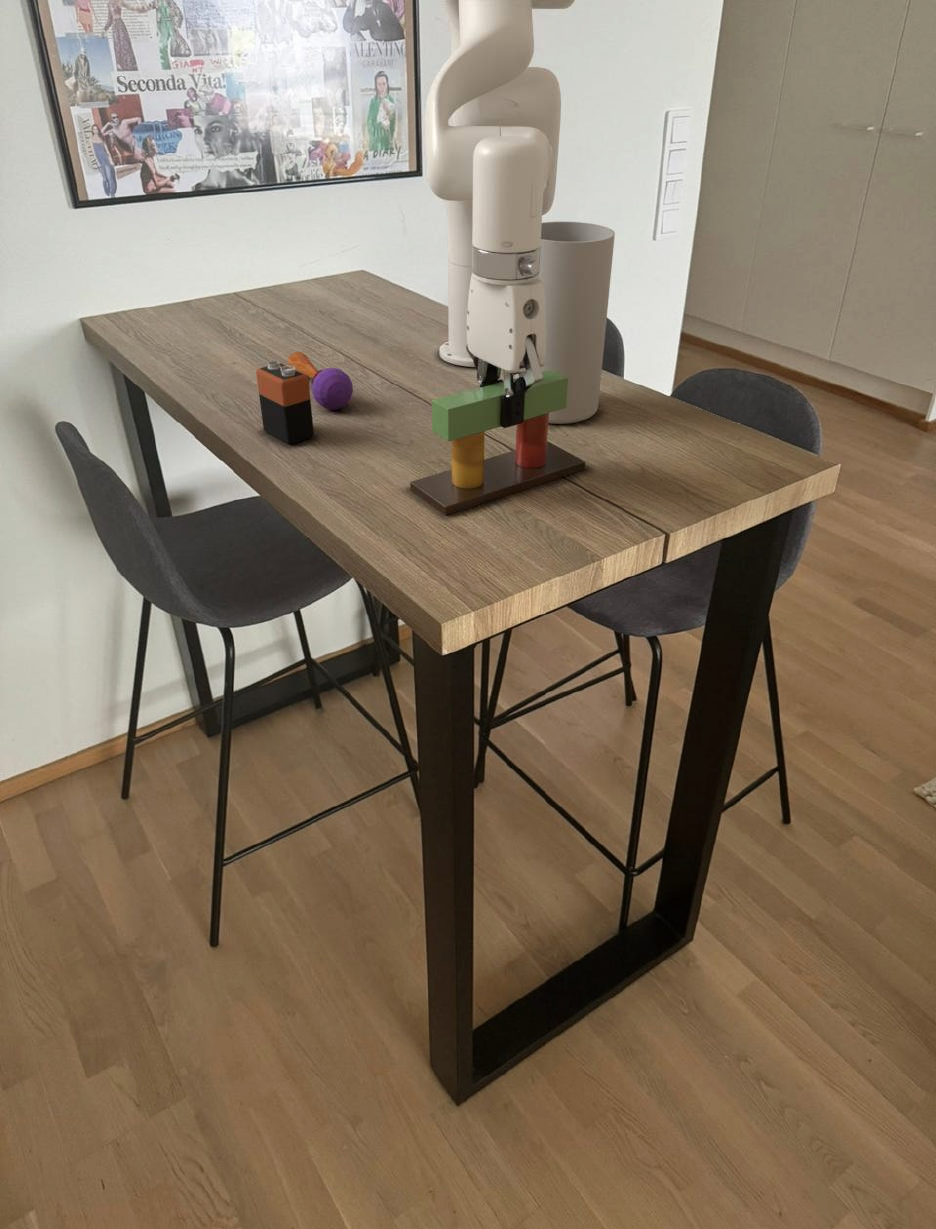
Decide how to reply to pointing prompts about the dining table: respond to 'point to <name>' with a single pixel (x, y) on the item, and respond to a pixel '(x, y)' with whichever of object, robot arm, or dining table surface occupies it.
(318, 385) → the kendama
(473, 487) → the rod stand
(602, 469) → the dining table surface
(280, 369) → the battery
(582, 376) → the cylinder vase
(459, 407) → the green bar
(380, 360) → the dining table surface
